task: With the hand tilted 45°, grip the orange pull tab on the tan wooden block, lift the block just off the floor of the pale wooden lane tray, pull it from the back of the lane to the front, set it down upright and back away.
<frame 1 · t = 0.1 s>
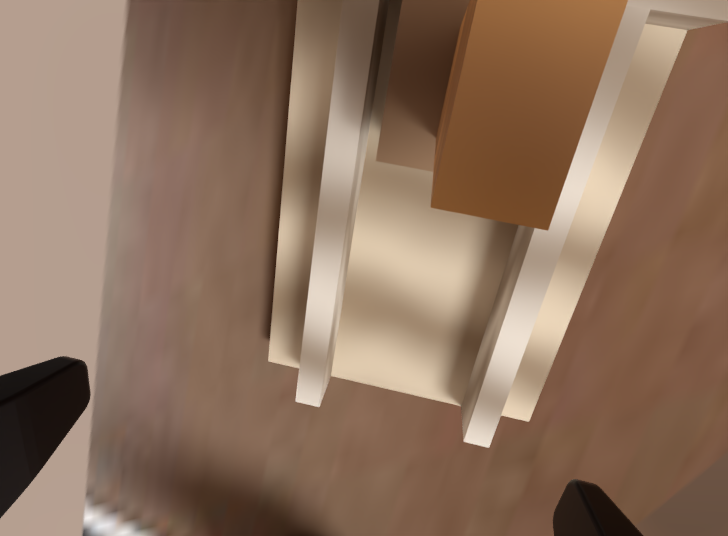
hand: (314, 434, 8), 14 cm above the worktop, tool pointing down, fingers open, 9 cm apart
lane tray: (437, 201, 21), on the worktop
tan wooden block: (466, 87, 17), point 1 cm above the worktop, touching lane tray
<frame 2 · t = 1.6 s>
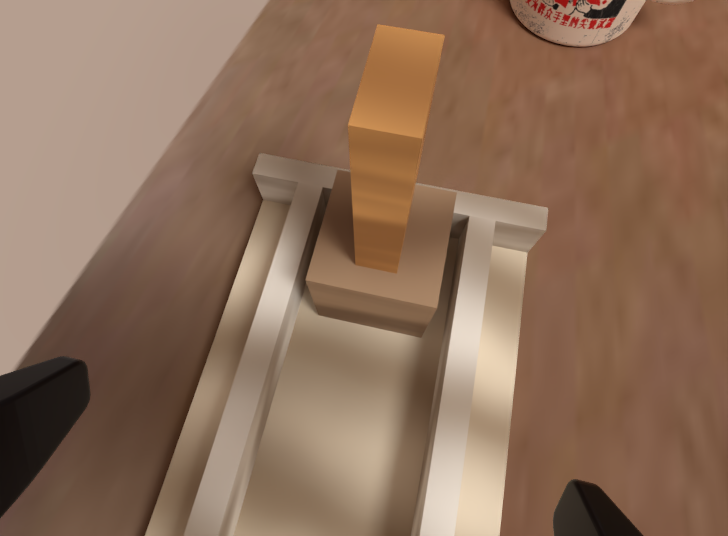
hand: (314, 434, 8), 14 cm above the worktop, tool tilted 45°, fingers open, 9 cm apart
lane tray: (357, 382, 22), on the worktop
tan wooden block: (380, 278, 22), point 1 cm above the worktop, touching lane tray
teacup with lid: (587, 14, 31), on the worktop
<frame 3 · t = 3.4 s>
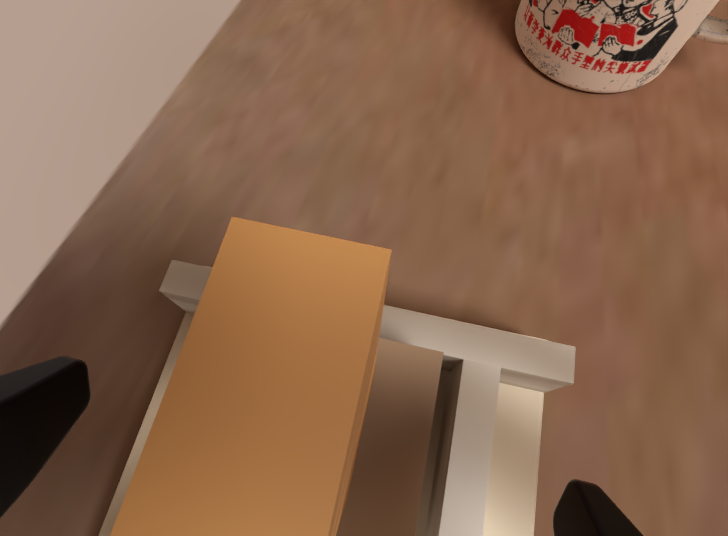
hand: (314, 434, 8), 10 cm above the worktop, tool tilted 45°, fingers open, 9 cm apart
tan wooden block: (339, 432, 16), point 1 cm above the worktop, touching lane tray
teacup with lid: (611, 51, 25), on the worktop
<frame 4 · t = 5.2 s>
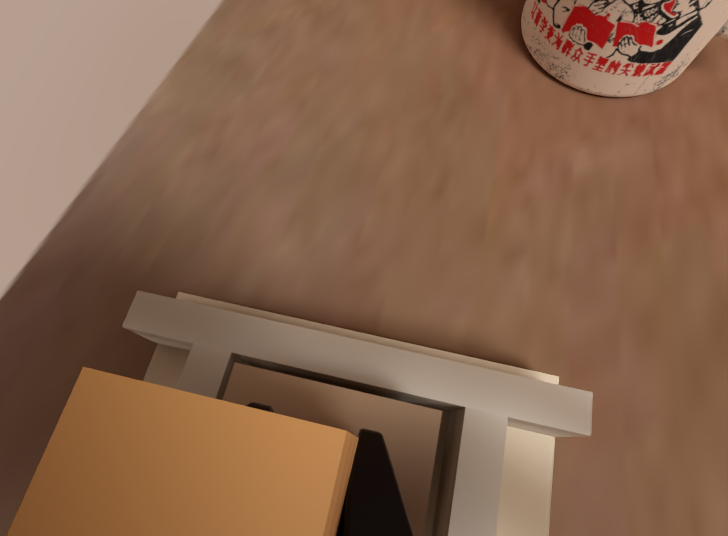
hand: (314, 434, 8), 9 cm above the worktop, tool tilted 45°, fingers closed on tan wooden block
tan wooden block: (326, 483, 14), point 1 cm above the worktop, touching gripper, lane tray
teacup with lid: (625, 50, 23), on the worktop
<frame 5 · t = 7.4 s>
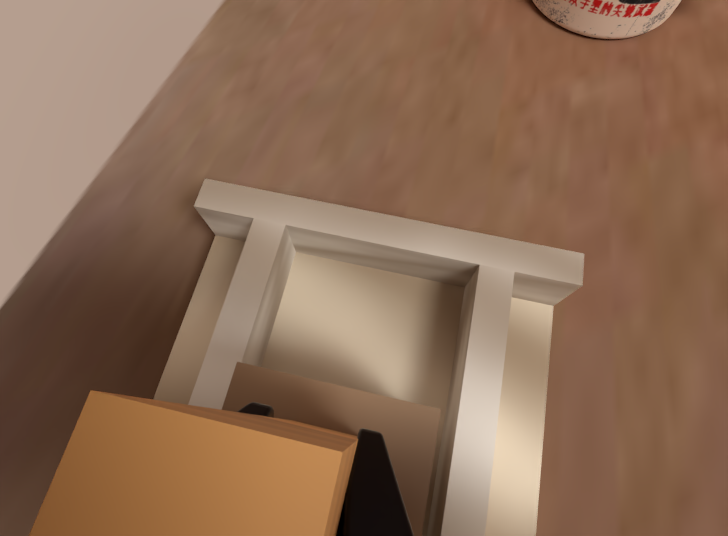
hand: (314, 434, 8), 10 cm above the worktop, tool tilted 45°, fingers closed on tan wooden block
lane tray: (333, 478, 17), on the worktop
tan wooden block: (328, 477, 14), point 2 cm above the worktop, touching gripper
teacup with lid: (619, 0, 26), on the worktop
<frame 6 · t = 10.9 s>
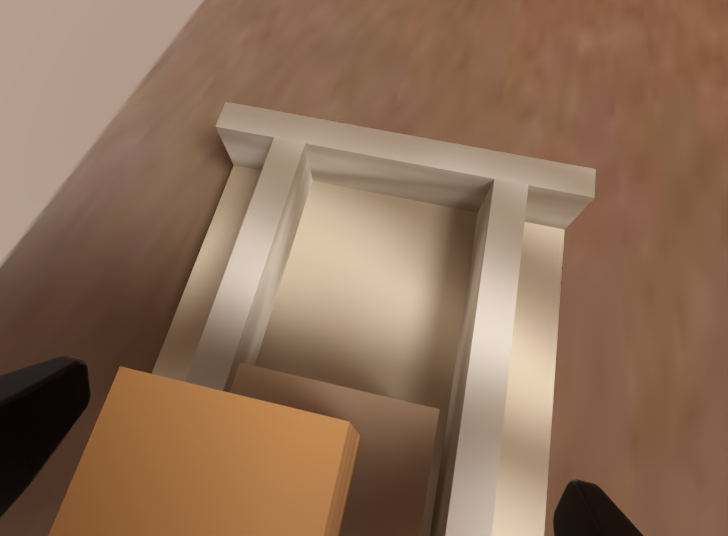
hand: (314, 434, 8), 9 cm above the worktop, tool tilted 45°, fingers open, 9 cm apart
lane tray: (350, 394, 17), on the worktop
tan wooden block: (328, 479, 15), point 1 cm above the worktop, touching lane tray
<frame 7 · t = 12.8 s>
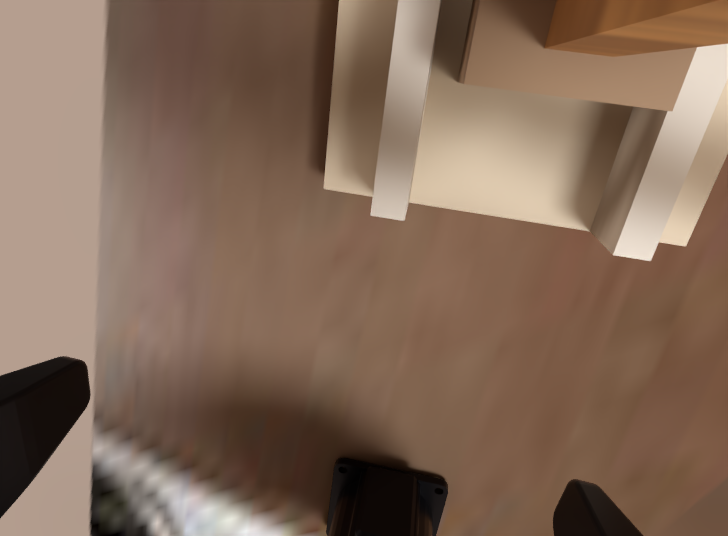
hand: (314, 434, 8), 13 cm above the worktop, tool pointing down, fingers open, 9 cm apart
tan wooden block: (549, 9, 14), point 1 cm above the worktop, touching lane tray
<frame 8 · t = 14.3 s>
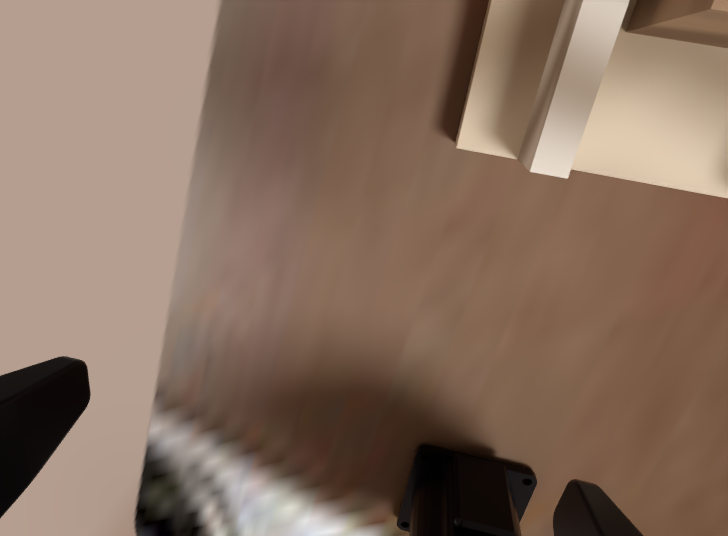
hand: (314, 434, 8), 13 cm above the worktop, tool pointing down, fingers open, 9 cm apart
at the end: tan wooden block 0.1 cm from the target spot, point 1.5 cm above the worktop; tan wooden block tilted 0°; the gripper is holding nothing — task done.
